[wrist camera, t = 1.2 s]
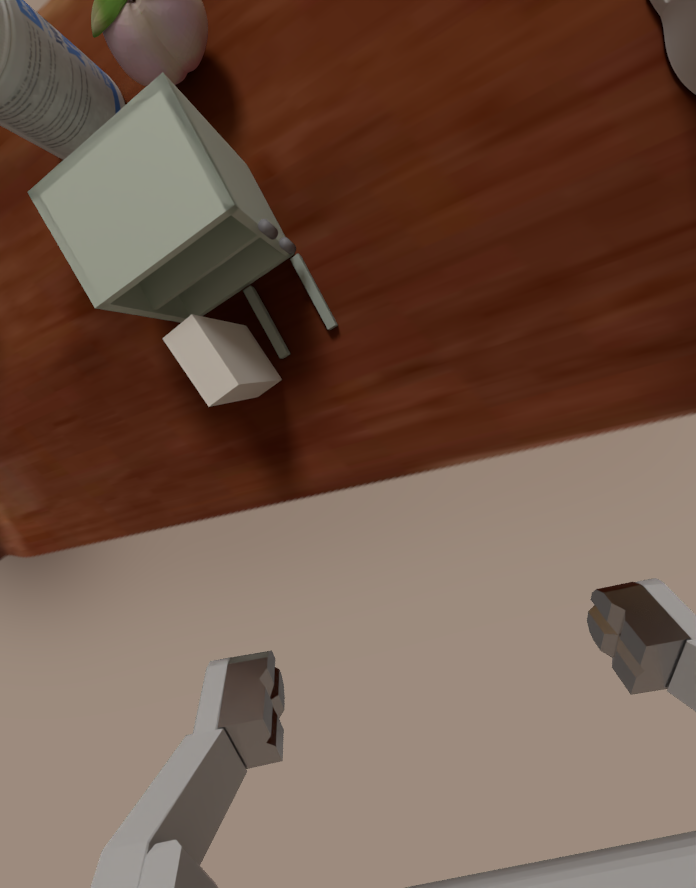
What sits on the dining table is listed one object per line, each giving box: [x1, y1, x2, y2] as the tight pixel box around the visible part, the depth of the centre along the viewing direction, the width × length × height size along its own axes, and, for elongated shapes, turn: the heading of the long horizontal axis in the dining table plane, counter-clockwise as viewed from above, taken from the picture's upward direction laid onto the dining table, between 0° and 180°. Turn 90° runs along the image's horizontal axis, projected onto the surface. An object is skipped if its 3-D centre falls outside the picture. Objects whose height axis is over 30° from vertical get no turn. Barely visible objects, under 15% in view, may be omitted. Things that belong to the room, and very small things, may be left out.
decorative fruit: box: [91, 0, 208, 86], centre depth 37 cm, size 9×8×10 cm
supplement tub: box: [0, 0, 125, 160], centre depth 38 cm, size 10×10×15 cm
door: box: [163, 314, 282, 407], centre depth 41 cm, size 7×4×11 cm, turn 34°
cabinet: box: [28, 72, 338, 359], centre depth 38 cm, size 18×15×14 cm
